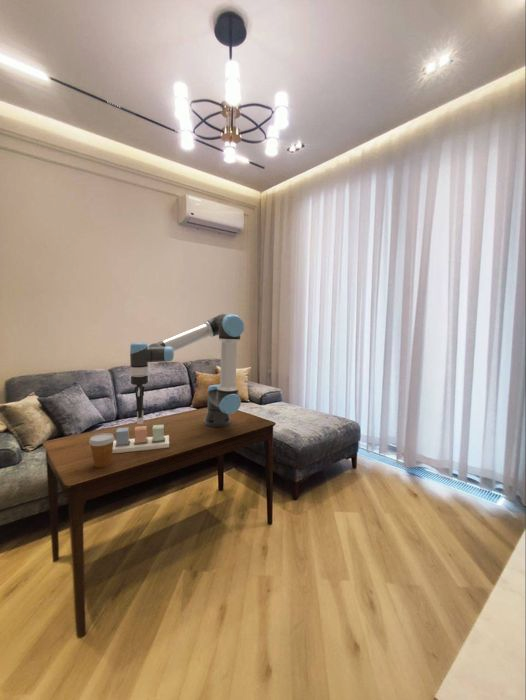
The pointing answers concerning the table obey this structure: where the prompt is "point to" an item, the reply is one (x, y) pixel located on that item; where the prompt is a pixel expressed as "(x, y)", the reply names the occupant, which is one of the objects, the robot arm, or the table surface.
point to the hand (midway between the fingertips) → (140, 423)
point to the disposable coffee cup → (102, 449)
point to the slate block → (122, 435)
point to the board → (140, 445)
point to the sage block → (158, 432)
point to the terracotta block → (140, 434)
